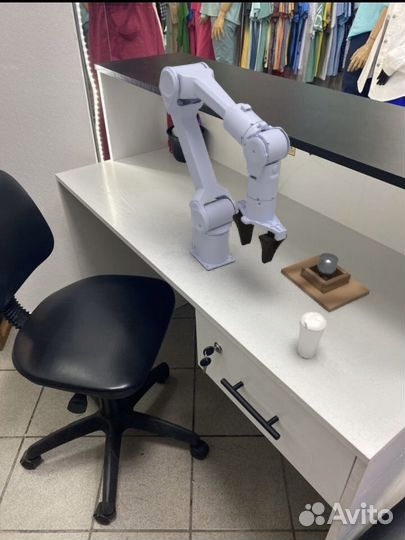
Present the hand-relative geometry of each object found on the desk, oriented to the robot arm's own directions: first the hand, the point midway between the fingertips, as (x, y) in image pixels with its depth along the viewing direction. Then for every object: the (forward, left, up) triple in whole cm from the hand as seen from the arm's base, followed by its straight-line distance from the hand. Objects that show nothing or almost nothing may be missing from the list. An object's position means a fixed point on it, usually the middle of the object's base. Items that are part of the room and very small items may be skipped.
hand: (255, 252), depth 83 cm
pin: (+7, +15, -8) cm, 18 cm away
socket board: (+7, +15, -9) cm, 19 cm away
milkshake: (+21, -3, -10) cm, 23 cm away
